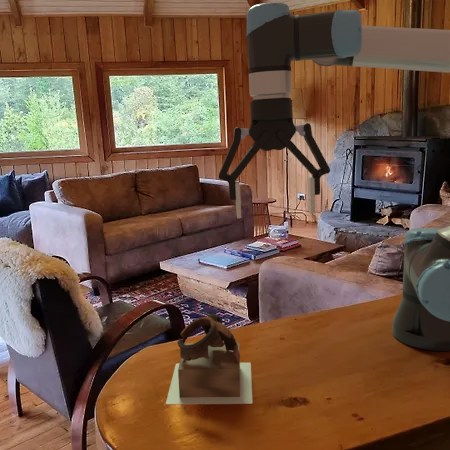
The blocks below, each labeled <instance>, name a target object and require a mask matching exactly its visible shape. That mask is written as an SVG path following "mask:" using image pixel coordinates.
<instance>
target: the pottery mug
mask: <svg viewBox="0 0 450 450" xmlns="http://www.w3.org/2000/svg"><path fill="white" fill-rule="evenodd" d="M200 327H201V330H202V331H204V334H205V336H203V338H201V339H200V340H198V341H197V342H193V343H194V344H192V345H184V343H186V341H187V339H188V338H189V336H190V335H191V334H192V333H193V332H195V331H196V330H198V329H199V328H200ZM179 335H180V337H181V338H179V339H178V341H177V346H178V347H179V353H180V355H179V356H180V359H181V358H182V359H185V360H188V361H190V360H191V359H192V360H196V359H198V358H202V357H204V358H206V359H209V356H208V346H211V347H223V346H224V345H225V347H226V350H232V351H233V356H234V357H235V361H236V363H238V362H239V360H240V361H241V354H240V353H239V350H238V345H237V343H236V342H237V340H236V338H235V336H234V334H233V333H232V331H231V330H230V329H229V328H228V327H227V326H226V325H225V324H224V323H223V322H222V318H221V316H220V315H218V314H216V313H211V314H209V315H208V316H204V317H203V316H202V317H199V318H197V319H194V320H193V321H191V322H190V323H189V324H187V325H186V326H185V328H184V329H183V330H182V331H181V332H180V334H179Z"/></svg>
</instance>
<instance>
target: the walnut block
mask: <svg viewBox="0 0 450 450" xmlns="http://www.w3.org/2000/svg"><path fill="white" fill-rule="evenodd" d="M194 343H195V342H185V343H184V345H192V344H194ZM236 343H237V345H238V350H239V353H240V352H241V351H240V350H241V349H240V346H241V345H240V341H239V342H237V341H236ZM208 356H209V359H206V358H204V357H202V358H198V359H196V360H192V359H191V360H190V361H188V360H185V359H182V358H181V357H180V360H179V363H180V364H179V368H178V378H179V397H240V363H241V359H240V360H239V362H238V363H236V361H235V357H234V356H233V351H232V350H226V347H225V345H224V346H223V347H211V346H208Z"/></svg>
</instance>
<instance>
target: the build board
mask: <svg viewBox="0 0 450 450" xmlns="http://www.w3.org/2000/svg"><path fill="white" fill-rule="evenodd" d="M179 364H180V362H179V363H175V366H174V368H173V369H174V370H173V374H172V378H171V381H170V385H169V389H168V393H167V398H166V401H165V405H235V404H236V405H243V404H245V405H246V404H248V405H249V404H253V389H252V388H253V385H252V364H251V362H240V397H179V378H178V368H179Z"/></svg>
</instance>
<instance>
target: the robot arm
mask: <svg viewBox="0 0 450 450" xmlns="http://www.w3.org/2000/svg"><path fill="white" fill-rule="evenodd" d="M245 36H246V49H247V66H248V67H247V68H248V84H249V85H248V86H249V87H248V91H249V96H250V97H251V98H252V100H250V102H249V108H250V109H249V111H250V113H249V114H250V126H249V128H244V127H243V128H242V127H238V126H236V127H235V128H234V130H233V140H232V142H231V144H230V147H229V150H227V151H228V152H227V154H226V156H225V159H224V162H223V163H222V166H221V168H220V170H219V173H218V179H219V180H221V181H225V182H227V183H228V191H229V193H228V194H229V199H230V200H231V201H235V207H236V219H242V204H241V203H242V202H241V187H240V186H241V185H240V181H239V180H238V178H239V176H240V175H241V174H242V173H243V172H244V171H245V169H246V167H247V166H248V164H249V163H250V162H251V161H252V159H253V158H254V157H255V156H256V154H257V153H258V152H259V151H260V150H262V151H264V152H269V151H273V150H274V151H282V150H284V149H288V151H289V152H290V153H291V154H292V155H293V156H294V158H296V160H297V161H298V162H300V163H301V165H302V166H303V167H304V168H305V169H306V170H307V171H308V172H309V173H310V174H311V176H308V177H307V196H308V197H307V198H308V199H307V200H308V201H307V202H308V203H307V205H308V212H309V213H310V214H311V215H315V214H316V196H319V195H320V193H321V177H322V176H325V175H327V174H329V173H330V172H331V168H330V167H329V164H328V162H327V160H326V159H325V156H324V155H323V153H322V152H321V150H320V148H319V147H320V146H318V144H317V142H316V140H315V137H314V136H313V130H312V126H311V124H310V123H307V122H304V123H303V124H299V125H297V124H296V125H295V123H294V118H293V117H294V116H293V115H294V114H293V113H294V112H293V99H292V98H291V97H290V96H289V95H292V94H293V83H292V67H291V66H292V62H298V61H312V62H313V63H314V64H316V65H318V66H321V67H331V66H332V67H333V66H338V67H340V66H341V67H357V68H358V67H360V68H371V69H373V68H375V69H389V70H390V69H391V70H403V71H404V70H406V71H407V70H408V71H420V72H421V71H422V72H434V73H435V72H436V73H447V74H448V73H450V29H437V28H436V29H435V28H415V27H414V28H413V27H398V26H397V27H396V26H395V27H394V26H378V25H377V26H375V25H363V23H362V14H361V13H360V11H359V10H356V9H349V10H348V9H347V10H343V9H338V10H335V11H334V10H333V11H326V12H325V11H324V12H315V13H306V14H304V13H303V14H296V15H295V14H292V13H291V12H290V6H289V5H288V4H287V3H284V2H264V3H259V4H255V5H253V6H251V7H250V8H249V9H248V10H247V13H246V33H245ZM296 132H297V133H298V134H299V136H300V137H303V138H304V139H303V140H304V141H305V142H306V143H305V144H306V145H307V147H308V148H309V150H310V153H311V154H312V156H313V158H314V160H315V162H316V163H317V165H318V167H319V168H317V167H315V165H314V164H312V162H311V161H310V160H309V159H308V158H307V157H306V155H304V153H303V152H302V151H301V150H300V149H299V148H298V147H297V145H296V144H295V143H294V142H293V141H292V139H293V137H294V135H295V134H296ZM247 135H249V137H250V138H251V140H253V143H252V145H251V146H250V148H249V149H248V150H247V152H246V154H245V155H244V156H243V157H242V158H241V160H240V161H239V162H238V163H237V165H236V167H235V168H234V169H233V170H232V172H231V173H230V174H229V173H228V172H229V170H230V167H231V165H232V163H233V160H234V158H235V156H236V153H237V151H238V148H239V146H240V143H241V141H243V140H245V138H246V136H247ZM404 237H405V238H404V241H403V245H404V252H403V253H404V254H403V255H404V257H403V272H402V273H403V274H402V277H403V278H402V295H401V301H400V303H399V304H398V305H399V306H398V307H397V310H396V312H395V315H394V318H393V320H392V323H391V324H392V326H391V327H392V328H391V333H392V336H393V337H394V338H395V339H396V340H398V341H399V342H401V343H403V344H405V345H408V346H410V347H413V348H417V349H421V350H426V351H435V352H447V351H448V352H449V351H450V225H449V226H445V227H442V228H441V227H440V228H438V227H437V228H436V227H425V228H424V227H418V228H411V229H409V230H408V231H406V233H405V235H404Z"/></svg>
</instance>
